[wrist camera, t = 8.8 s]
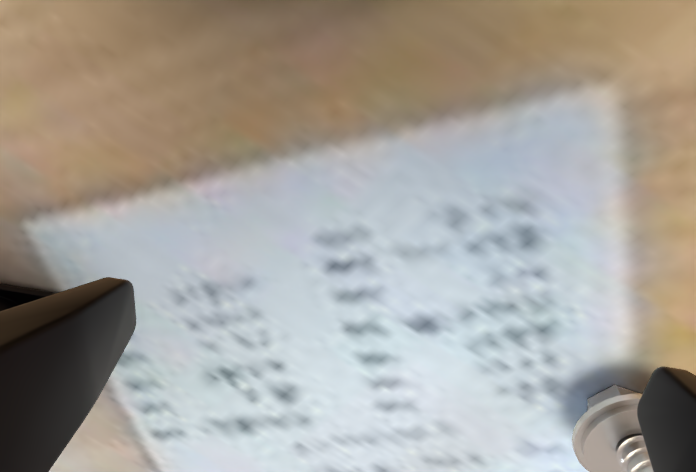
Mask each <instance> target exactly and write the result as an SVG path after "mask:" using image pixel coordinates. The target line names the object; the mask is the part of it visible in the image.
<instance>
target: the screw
mask: <svg viewBox="0 0 696 472" xmlns="http://www.w3.org/2000/svg"><path fill="white" fill-rule="evenodd" d="M641 396H642V394H640V393H637V392H634V391H631V390H628V389H625V388H622V387H619V386H616V385H614V386H612V387H610V388H608V389H606V390H604V391H602V392H600V393H598V394H596V395H594V396H592V397H590V398H588V399H587V404H588V411H587V412H585V413H584V414H583V416H582V417H581V418H580V419H579V420H578V422H577V424H576V426H575V428H574V430H573V435H572V445H573V449H574V452H575V454H576V456H577V458H578V461H579V462H580V463H581V464H582V466H583V467H584V468H585V469H586V470H588V471H589V472H653V469H652V465H651V462H650V458H649V455H648V452H647V448H646V445H645V442H644V438H643V435H642V431H641V428H640V425H639V421H638V417H637V407H638V403H639V400H640V398H641Z"/></svg>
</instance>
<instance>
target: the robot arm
mask: <svg viewBox="0 0 696 472" xmlns="http://www.w3.org/2000/svg"><path fill="white" fill-rule="evenodd" d="M135 325H136V313H135V300H134V289H133V285H132V283H131V282H129V281H128V280H123V279H117V278H111V277H106V278H103V279H99V280H96V281H93V282H90V283H87V284H84V285H81V286H78V287H75V288H72V289H68V290H65V291H62V292H59V293H56V294H55V293H52V292H46V291H40V290H34V289H28V288H23V287H17V286H11V285H5V284H0V472H48V471H49V470H50V469H51V467H52V466H53V464H54V463H55V461H56V460H57V458H58V457H59V456H60V454H61V453H62V451H63V450H64V448H65V447H66V445H67V444H68V443H69V441H70V440H71V438H72V437H73V435H74V434H75V432H76V431H77V430H78V428H79V427H80V425H81V424H82V422H83V421H84V419H85V418H86V416H87V415H88V413H89V412H90V410H91V409H92V407H93V405H94V404H95V402H96V400H97V399H98V397H99V395H100V393H101V392H102V390H103V388H104V386H105V384H106V382H107V381H108V379H109V377H110V375H111V373H112V371H113V369H114V368H115V366H116V364H117V362H118V360H119V358H120V357H121V355H122V353H123V351H124V349H125V347H126V346H127V344H128V342H129V340H130V338H131V336H132V334H133V332H134V329H135ZM637 417H638V421H639V425H640V428H641V431H642V435H643V438H644V442H645V445H646V448H647V452H648V455H649V458H650V462H651V465H652V469H653V472H696V376H695V375H693V374H692V373H690V372H688V371H686V370H682V369H676V368H669V367H659V368H657V369H656V370H655V371H654V372H653V374H652V376H651V378H650V380H649V382H648V384H647V386H646V388H645V390H644V392H643V394H642V396H641V398H640V400H639V403H638V407H637Z"/></svg>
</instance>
